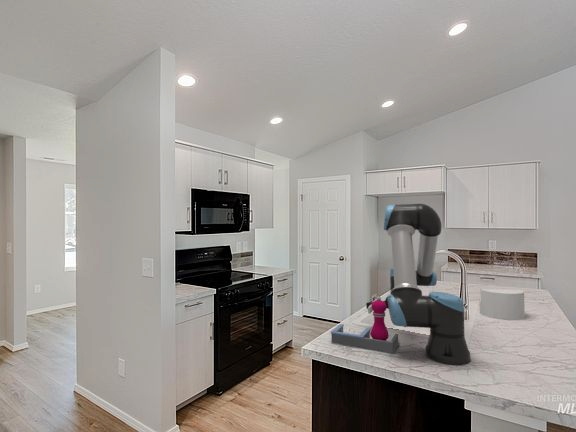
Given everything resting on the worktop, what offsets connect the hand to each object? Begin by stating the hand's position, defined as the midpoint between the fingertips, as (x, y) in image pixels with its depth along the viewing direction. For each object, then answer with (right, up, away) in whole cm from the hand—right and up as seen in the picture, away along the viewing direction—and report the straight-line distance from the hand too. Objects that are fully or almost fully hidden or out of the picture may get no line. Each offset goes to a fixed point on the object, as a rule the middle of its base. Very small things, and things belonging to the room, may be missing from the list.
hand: (384, 312), depth 146 cm
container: (+71, -10, +30) cm, 77 cm away
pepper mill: (-4, -11, -9) cm, 15 cm away
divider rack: (-10, -11, -6) cm, 16 cm away
